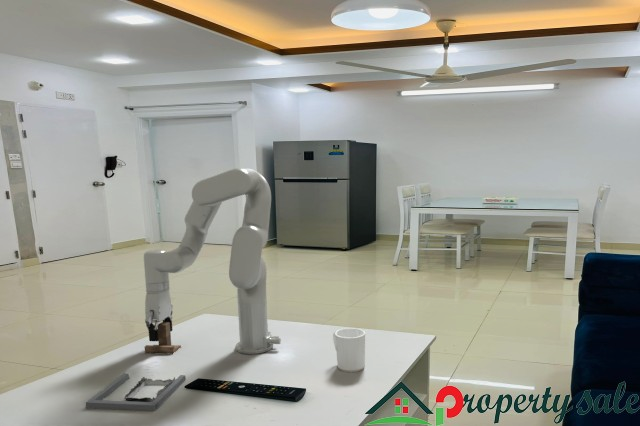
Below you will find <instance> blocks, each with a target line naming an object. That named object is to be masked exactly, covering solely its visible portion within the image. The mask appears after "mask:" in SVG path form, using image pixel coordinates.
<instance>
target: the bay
mask: <svg viewBox="0 0 640 426" xmlns="http://www.w3.org/2000/svg"><path fill="white" fill-rule="evenodd" d="M129 379H130V374H129V373H128V372H127V373H126V372H125V373H122V374H121V375H120V376H119V377H117V378H116V379H115V380H113V381H112V382H110V383H109V384H108V385H106V386H105V387H104V388H102V389H101V390H100V391H99V392H97V393H96V394H95V395H93V396H92V397H91V398H89V399H87V400H86V401H85V408H86V409H100V410H103V409H104V410H119V411H120V410H124V411H125V410H126V411H145V412H147V411H148V412H156V410H158V409H159V408H160V407H161V406H162V405H163V404H164V403H165V401H166V400H167V399H169V398H170V397H171V396H172V395H173V393H175V392H176V391H177V390H178V389H179V388H180V386H182V385H183V384H184V383H185V382H186V379H187V377H186V375H185V374H183V375H182V374H181V375H179V376H178V377H177V378H175V381H174V382H173V383H172V384H171V385H170V386H168V387H167V388H166V389H165V390H164V391H163V392H162V393H161V394H160V395H159V396H158V397H157V398H156V397H155V398H156V399H155V400H154V401H153V402H134V401H126V400H110V399H109V400H108V399H107V400H106V399H105V398H106V397H108V396H109V395H110V394H112V393H113V392H114V391H115V390H117V389H118V388H119V387H121V386H122V385H123V384H125V382H126V381H128V380H129Z"/></svg>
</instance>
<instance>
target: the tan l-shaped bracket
mask: <svg viewBox="0 0 640 426" xmlns="http://www.w3.org/2000/svg"><path fill="white" fill-rule="evenodd" d="M157 329H158V332H159V341H157V342H158V344H152V345H149V344H148V345H147V344H146V345H145V346H144V354H155V353H165V354H164V355H167V354H166V353H172V354H171V355H173V353H174V352H175V353H176V352H178V351H179V350H180V349H181V348H182V345H181V344H179V345H178V344H172V335H171V332H170V322H163V321H161V322H159V323H158V327H157ZM179 348H180V349H179ZM178 349H179V350H178ZM175 353H174V354H175Z"/></svg>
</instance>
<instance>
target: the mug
mask: <svg viewBox="0 0 640 426" xmlns="http://www.w3.org/2000/svg"><path fill="white" fill-rule="evenodd" d="M332 336H333V337H332V341H333V344H334V348H335V351H336V361H337V368H338V369H339V370H340V371H342V372H344V373H345V372H347V373H358V372H360V371H362V370H363V369H365V367H366V361H365V360H366V331H365V330H363V329H360V328H353V327H348V328H340V329H338V330H336V331H334V332H333V335H332Z"/></svg>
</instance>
